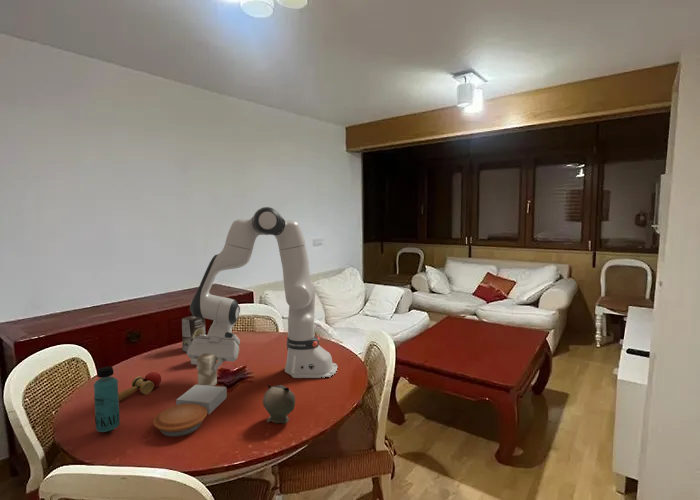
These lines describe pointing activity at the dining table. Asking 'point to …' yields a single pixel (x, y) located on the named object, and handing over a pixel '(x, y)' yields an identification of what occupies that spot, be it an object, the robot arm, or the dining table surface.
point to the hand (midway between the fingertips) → (206, 369)
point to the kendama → (142, 385)
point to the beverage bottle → (106, 400)
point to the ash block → (206, 369)
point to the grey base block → (204, 396)
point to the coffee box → (191, 330)
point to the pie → (180, 419)
